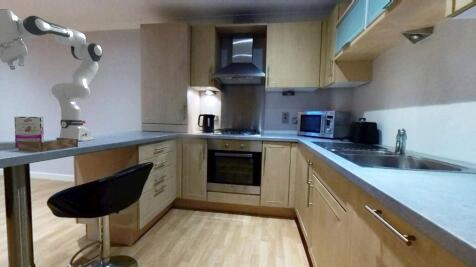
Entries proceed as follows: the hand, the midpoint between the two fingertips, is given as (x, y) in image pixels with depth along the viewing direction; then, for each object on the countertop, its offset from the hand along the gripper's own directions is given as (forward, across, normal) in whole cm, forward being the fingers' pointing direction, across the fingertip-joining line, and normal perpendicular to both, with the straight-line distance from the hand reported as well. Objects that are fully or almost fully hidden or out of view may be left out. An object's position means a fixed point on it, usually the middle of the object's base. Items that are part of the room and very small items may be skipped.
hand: (17, 67), depth 127 cm
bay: (+45, -12, +1) cm, 47 cm away
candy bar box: (+43, 0, +4) cm, 43 cm away
